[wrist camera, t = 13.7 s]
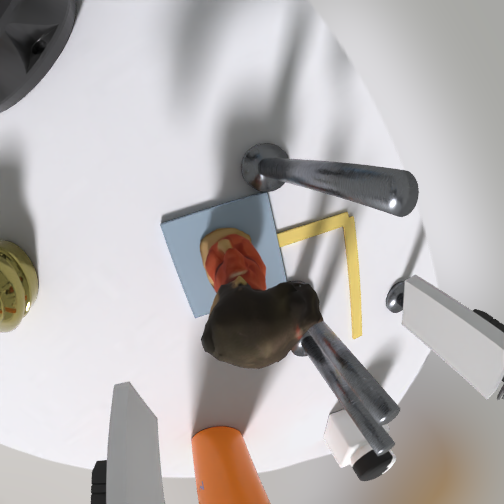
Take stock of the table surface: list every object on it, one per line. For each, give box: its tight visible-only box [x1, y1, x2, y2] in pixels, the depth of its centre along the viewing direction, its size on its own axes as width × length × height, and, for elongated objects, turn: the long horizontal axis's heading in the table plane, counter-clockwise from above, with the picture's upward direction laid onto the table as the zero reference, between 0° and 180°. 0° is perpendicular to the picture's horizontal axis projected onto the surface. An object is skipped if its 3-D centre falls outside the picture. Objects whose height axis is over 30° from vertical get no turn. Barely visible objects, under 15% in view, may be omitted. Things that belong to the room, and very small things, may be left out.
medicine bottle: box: [323, 409, 396, 481], centre depth 33 cm, size 7×7×12 cm
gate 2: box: [291, 282, 405, 456], centre depth 24 cm, size 4×17×16 cm, turn 104°
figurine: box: [200, 228, 323, 369], centre depth 19 cm, size 6×6×12 cm
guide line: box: [277, 212, 362, 339], centre depth 29 cm, size 16×8×1 cm, turn 14°
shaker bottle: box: [192, 426, 270, 504], centre depth 24 cm, size 9×9×20 cm
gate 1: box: [242, 143, 419, 426], centre depth 18 cm, size 17×4×16 cm, turn 14°
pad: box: [160, 192, 287, 318], centre depth 25 cm, size 9×9×1 cm
